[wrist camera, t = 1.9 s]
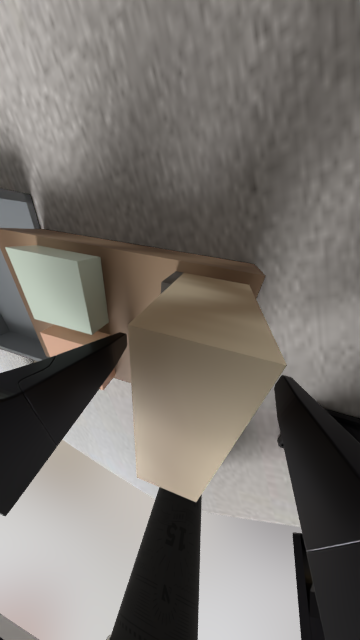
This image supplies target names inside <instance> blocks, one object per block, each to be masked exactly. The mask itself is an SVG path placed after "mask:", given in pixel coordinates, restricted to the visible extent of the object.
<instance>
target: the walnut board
mask: <svg viewBox="0 0 360 640" xmlns="http://www.w3.org/2000/svg"><path fill="white" fill-rule="evenodd" d="M32 245H39V246H44V247H49V248H55V249H60V250H65V251H71V252H76V253H82V254H87V255H92V256H98V257H100V258H101V266H102V274H103V281H104V289H105V297H106V304H107V312H108V319H109V323H107V324H106V325H105V326H103V327H102V328H101V329H99V330H98V331H99V332H102V333H106V334H110V335H113V334H116V333H118V332H122V333H126V334H127V347H126V349H125V351H124V353H123V354H122V356H121V358H120V360H119V361H118V363H117V365H116V366H115V373H116V375H115V376H114V377H113V378H116V379H119V380H122V381H126V382H129V383H131V367H130V350H129V333H128V324H129V323H130V322H131V321H133V320H134V319H135V318H136V317H137V316H138V315H139V314H140V313H141V312H142V311H143V310H144V309H145V308H147V307H148V306H149V305H150V304H151V303H152V302H153V301H154V300H155V299H156V298H157V297H158V296H159V295H161V282H162V281H163V280H165V279H166V278H167V277H169V276H170V275H171V274H173V273H174V272H175V271H178V272H183V273H189V274H194V275H199V276H205V277H210V278H215V279H221V280H226V281H231V282H237V283H242V284H247V285H250V288H251V290H252V292H253V294H254V296H255V298H257V296H258V293H259V291H260V288H261V286H262V283H263V281H264V278H265V275H264V274H263V273H262V272H261V270H260V269H259V268H258V267H257V266H256V265H255V264H251V263H245V262H239V261H233V260H227V259H221V258H215V257H209V256H203V255H197V254H191V253H185V252H179V251H173V250H166V249H160V248H154V247H148V246H142V245H136V244H130V243H124V242H118V241H112V240H106V239H100V238H94V237H88V236H82V235H76V234H70V233H64V232H58V231H52V230H46V229H23V228H0V249H1V251H2V254H3V256H4V258H5V261H6V263H7V266H8V268H9V270H10V273H11V275H12V277H13V280H14V282H15V284H16V287H17V289H18V291H19V294H20V296H21V298H22V301H23V303H24V305H25V308H26V310H27V312H28V315H29V317H30V319H31V322H32V324H33V326H34V329H35V331H36V333H37V336H38V338H39V341H40V343H41V345H42V348H43V350H44V352H45V355H46V356H47V357H50V355H49V353H48V351H47V348H46V346H45V343H44V341H43V338H42V336H41V334H40V332H42V331H44V330H45V329H47V328H49V327H51V326H53V325H54V324H51V323H47V322H44V321H40V320H36V319H34V317H33V314H32V312H31V309H30V307H29V304H28V302H27V299H26V297H25V295H24V292H23V290H22V287H21V285H20V282H19V280H18V278H17V275H16V273H15V270H14V268H13V265H12V263H11V261H10V258H9V256H8V253H7V251H6V248H5V247H16V246H32Z"/></svg>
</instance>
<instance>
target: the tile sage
mask: <svg viewBox="0 0 360 640" xmlns="http://www.w3.org/2000/svg"><path fill="white" fill-rule="evenodd" d="M5 248H6V251H7V253H8V256H9V258H10V261H11V263H12V265H13V268H14V270H15V273H16V275H17V278H18V280H19V282H20V285H21V287H22V290H23V292H24V295H25V297H26V299H27V302H28V304H29V307H30V309H31V312H32V314H33V317H34V319H36V320H40V321H44V322H47V323H51V324H54V325H58V326H62V327H65V328H69V329H72V330H76V331H80V332H83V333H87V334H90V335H93V334H94V333H95V332H97V331H98V330H99V329H101V328H102V327H103V326H105V325H106V324H107V323H109V319H108V312H107V304H106V297H105V289H104V281H103V274H102V266H101V258H100V257H98V256H92V255H87V254H82V253H76V252H71V251H65V250H60V249H55V248H49V247H44V246H39V245H32V246H16V247H5Z"/></svg>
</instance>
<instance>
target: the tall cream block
mask: <svg viewBox="0 0 360 640" xmlns="http://www.w3.org/2000/svg"><path fill="white" fill-rule="evenodd" d="M128 333H129V350H130V367H131V385H132V402H133V419H134V437H135V454H136V471H137V478H139V479H142V480H144V481H147V482H149V483H151V484H154V485H156V486H158V487H161V488H163V489H166V490H168V491H170V492H173V493H175V494H178V495H180V496H182V497H185V498H187V499H189V500H192V501H194V502H197V500H198V499H199V497H200V496H201V494H202V493H203V491H204V490H205V488H206V487H207V485H208V484H209V482H210V481H211V479H212V478H213V476H214V475H215V473H216V472H217V470H218V469H219V467H220V465H221V464H222V462H223V461H224V459H225V458H226V456H227V455H228V453H229V452H230V450H231V449H232V447H233V446H234V444H235V443H236V441H237V440H238V438H239V437H240V435H241V434H242V432H243V431H244V429H245V428H246V426H247V425H248V423H249V422H250V420H251V419H252V417H253V416H254V414H255V413H256V411H257V410H258V408H259V406H260V405H261V403H262V402H263V400H264V399H265V397H266V396H267V394H268V393H269V391H270V390H271V388H272V387H273V385H274V384H275V382H276V381H277V379H278V378H279V376H280V375H281V373H282V372H283V370H284V369H285V367H286V366H287V365H286V363H285V360H284V358H283V356H282V354H281V352H280V350H279V348H278V345H277V343H276V341H275V339H274V337H273V335H272V333H271V330H270V328H269V326H268V324H267V322H266V320H265V318H264V315H263V313H262V311H261V309H260V307H259V305H258V303H257V300H256V298H255V296H254V294H253V292H252V290H251V288H250V285H247V284H242V283H237V282H231V281H226V280H221V279H215V278H210V277H205V276H199V275H194V274H189V273H183V272H178V271H175V272H174V273H173V274H171V275H170V276H169V277H167V278H166V279H165V280H163V281H162V282H161V295H159V296H158V297H157V298H156V299H155V300H154V301H153V302H152V303H151V304H150V305H149V306H148V307H147V308H145V309H144V310H143V311H142V312H141V313H140V314H139V315H138V316H137V317H136V318H135V319H134V320H133V321H131V322H130V323H129V324H128Z"/></svg>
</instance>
